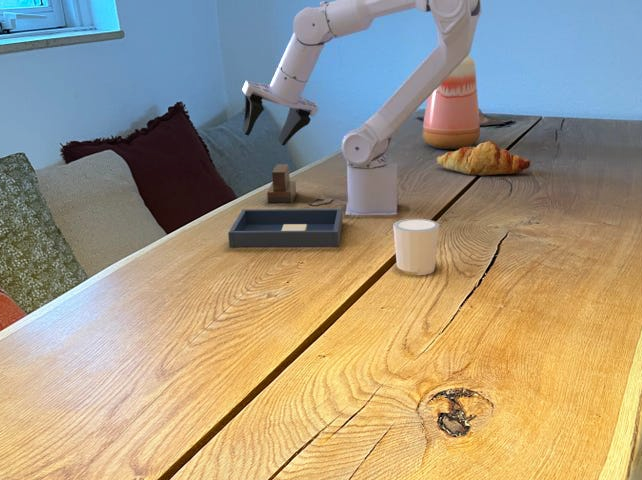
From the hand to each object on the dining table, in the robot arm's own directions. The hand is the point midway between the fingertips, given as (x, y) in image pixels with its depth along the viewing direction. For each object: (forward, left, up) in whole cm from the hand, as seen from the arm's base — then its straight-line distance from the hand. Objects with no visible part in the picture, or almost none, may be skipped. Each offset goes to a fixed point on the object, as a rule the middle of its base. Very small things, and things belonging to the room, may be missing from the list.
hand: (263, 137), depth 149 cm
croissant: (-44, -25, -13) cm, 53 cm away
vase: (-39, -53, -13) cm, 68 cm away
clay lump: (-7, +23, -12) cm, 27 cm away
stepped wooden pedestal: (-2, -2, -12) cm, 13 cm away
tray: (-6, +23, -12) cm, 27 cm away
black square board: (-37, -73, -11) cm, 83 cm away
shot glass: (-27, +39, -13) cm, 49 cm away
